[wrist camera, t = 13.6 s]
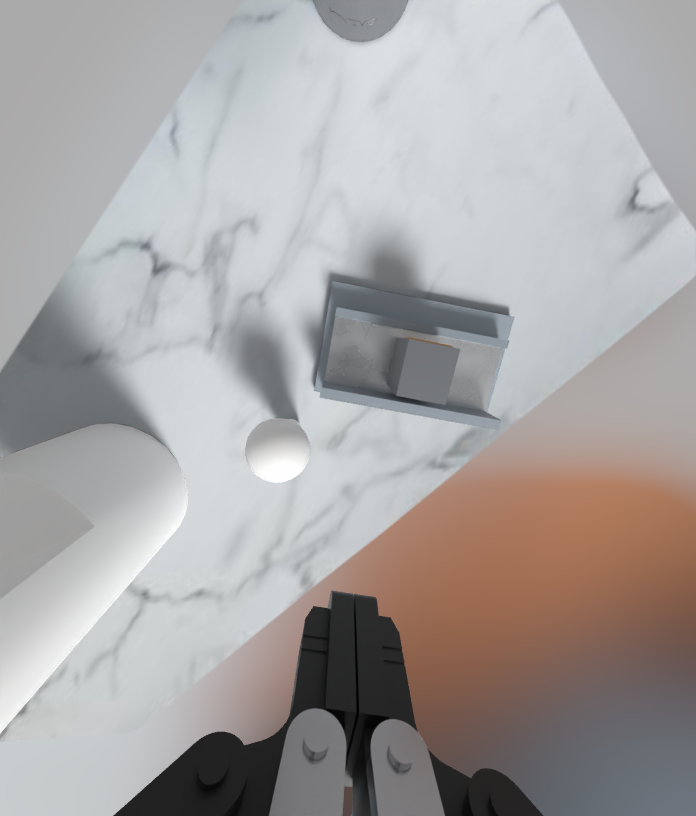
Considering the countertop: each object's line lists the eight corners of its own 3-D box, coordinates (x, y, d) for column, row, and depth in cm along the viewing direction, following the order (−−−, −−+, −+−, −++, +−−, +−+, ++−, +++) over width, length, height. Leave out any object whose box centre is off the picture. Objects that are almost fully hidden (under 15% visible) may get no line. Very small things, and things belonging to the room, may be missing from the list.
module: (397, 336, 35) (409, 336, 28) (438, 344, 35) (460, 347, 28) (386, 383, 36) (396, 395, 29) (427, 391, 36) (445, 405, 30)
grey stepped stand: (332, 282, 36) (329, 271, 30) (509, 317, 37) (543, 314, 31) (315, 389, 39) (308, 400, 32) (480, 419, 40) (506, 436, 33)
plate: (335, 316, 36) (335, 315, 35) (496, 347, 37) (502, 348, 35) (325, 379, 38) (324, 381, 36) (479, 408, 38) (484, 411, 37)
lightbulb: (267, 399, 39) (237, 424, 28) (319, 405, 39) (309, 432, 29) (264, 448, 40) (234, 490, 30) (314, 454, 41) (302, 497, 30)
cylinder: (213, 520, 42) (-26, 856, 15) (100, 570, 44) (-303, 957, 17) (139, 399, 39) (-345, 554, 12) (18, 458, 41) (-658, 717, 13)
